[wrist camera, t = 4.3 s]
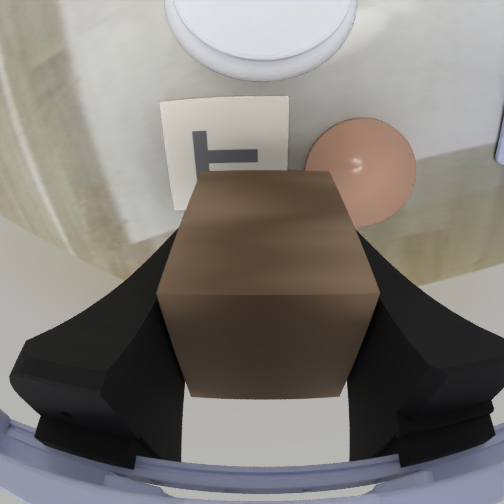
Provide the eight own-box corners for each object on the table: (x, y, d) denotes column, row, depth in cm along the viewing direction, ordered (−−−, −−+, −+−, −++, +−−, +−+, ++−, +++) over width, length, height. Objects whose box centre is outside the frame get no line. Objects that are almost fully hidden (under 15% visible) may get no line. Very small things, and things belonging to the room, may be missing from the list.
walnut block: (329, 171, 11) (380, 292, 6) (317, 269, 14) (339, 396, 9) (201, 171, 11) (156, 293, 6) (211, 269, 14) (191, 396, 9)
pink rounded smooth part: (421, 124, 16) (424, 127, 16) (400, 223, 20) (403, 227, 20) (306, 114, 16) (308, 116, 16) (300, 222, 20) (301, 226, 20)
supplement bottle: (207, 67, 15) (142, 105, 7) (202, -27, 11) (132, -96, 3) (314, 66, 14) (385, 102, 6) (313, -29, 11) (381, -100, 3)
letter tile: (288, 96, 16) (289, 96, 16) (285, 208, 20) (286, 209, 20) (159, 101, 16) (159, 101, 16) (174, 210, 20) (174, 210, 20)
